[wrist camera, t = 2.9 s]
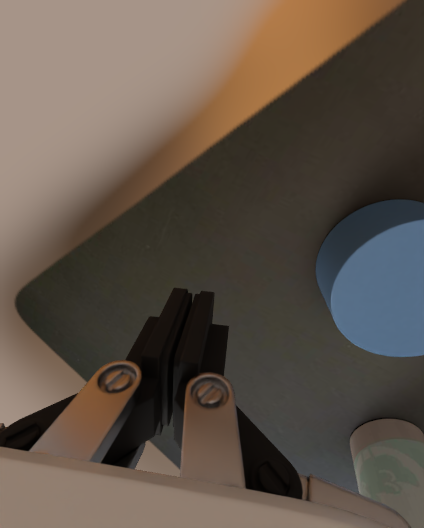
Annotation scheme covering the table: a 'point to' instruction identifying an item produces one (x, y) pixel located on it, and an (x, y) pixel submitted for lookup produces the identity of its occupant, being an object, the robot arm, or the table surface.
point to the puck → (377, 277)
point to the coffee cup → (391, 466)
